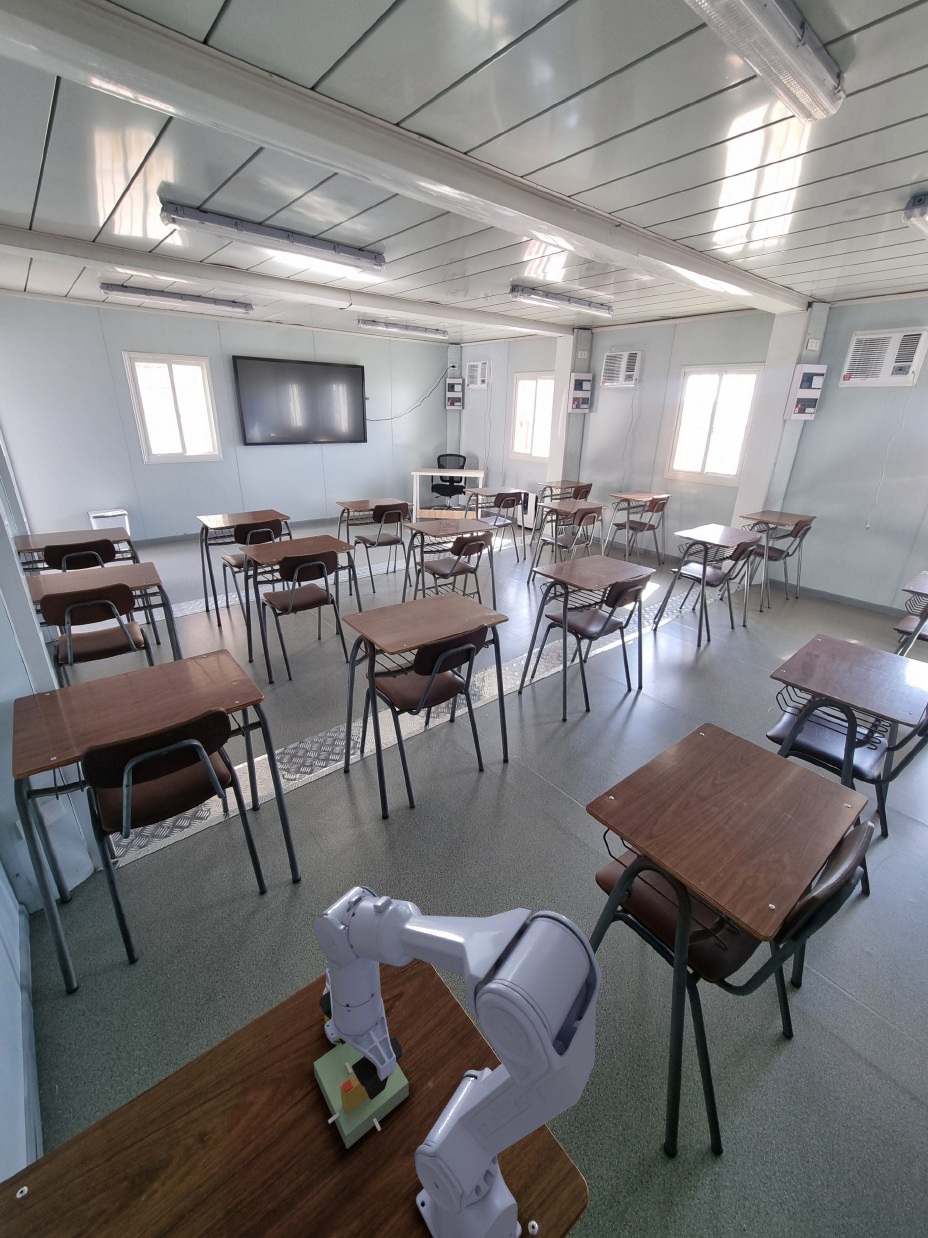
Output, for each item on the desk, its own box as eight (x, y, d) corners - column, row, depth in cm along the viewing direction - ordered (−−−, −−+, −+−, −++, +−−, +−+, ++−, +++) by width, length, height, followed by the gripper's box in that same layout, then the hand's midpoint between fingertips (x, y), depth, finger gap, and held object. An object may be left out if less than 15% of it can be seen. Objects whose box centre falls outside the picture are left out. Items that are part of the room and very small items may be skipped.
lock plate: (417, 1110, 66) (417, 1096, 65) (346, 1175, 60) (345, 1160, 59) (372, 1032, 75) (371, 1019, 74) (306, 1081, 69) (305, 1068, 68)
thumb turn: (376, 1077, 67) (375, 1057, 66) (381, 1086, 66) (380, 1066, 65) (341, 1105, 64) (340, 1084, 63) (346, 1114, 63) (344, 1094, 62)
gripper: (299, 958, 63) (309, 1036, 67) (352, 1060, 52) (360, 1147, 56) (351, 927, 67) (357, 1002, 71) (410, 1016, 56) (413, 1099, 60)
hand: (362, 1063), depth 64 cm, fingers open, 7 cm apart
